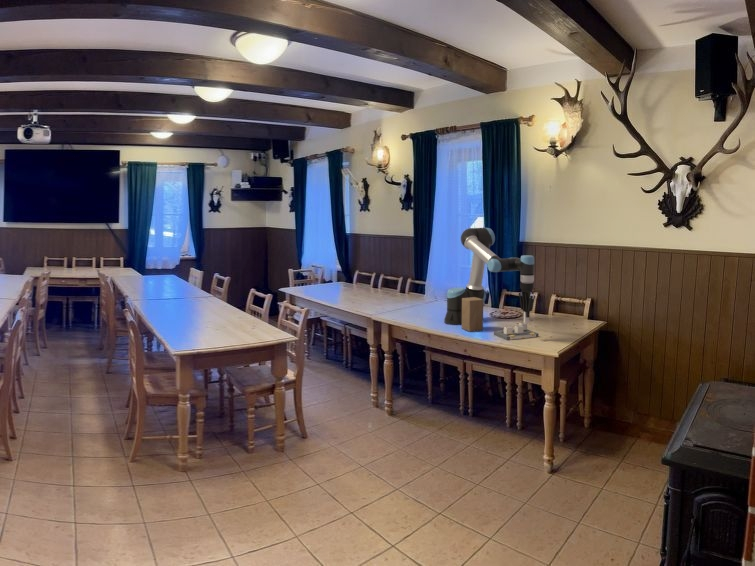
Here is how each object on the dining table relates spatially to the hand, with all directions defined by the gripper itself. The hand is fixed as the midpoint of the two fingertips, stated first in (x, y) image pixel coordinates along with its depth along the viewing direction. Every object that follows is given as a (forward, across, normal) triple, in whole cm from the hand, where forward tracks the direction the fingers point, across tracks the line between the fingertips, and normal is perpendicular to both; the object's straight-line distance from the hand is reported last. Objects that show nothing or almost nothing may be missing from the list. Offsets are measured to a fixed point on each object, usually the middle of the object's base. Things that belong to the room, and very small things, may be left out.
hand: (526, 322), depth 298 cm
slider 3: (+8, -13, +7) cm, 17 cm away
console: (+10, -10, 0) cm, 14 cm away
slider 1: (+8, -8, -7) cm, 13 cm away
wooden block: (+10, -34, -16) cm, 39 cm away
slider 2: (+8, -7, 0) cm, 10 cm away
